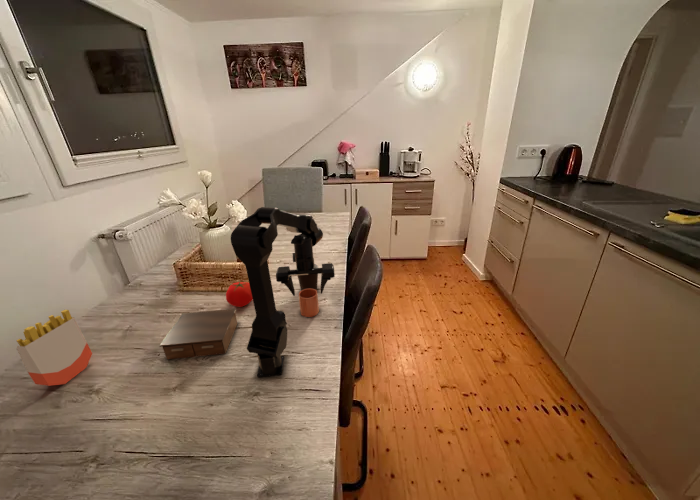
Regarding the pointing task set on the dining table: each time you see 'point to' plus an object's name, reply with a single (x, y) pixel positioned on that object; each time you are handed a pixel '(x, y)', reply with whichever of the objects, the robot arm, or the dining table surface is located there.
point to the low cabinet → (200, 334)
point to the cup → (308, 302)
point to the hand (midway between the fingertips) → (307, 294)
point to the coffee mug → (308, 280)
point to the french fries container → (54, 350)
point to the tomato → (239, 294)
